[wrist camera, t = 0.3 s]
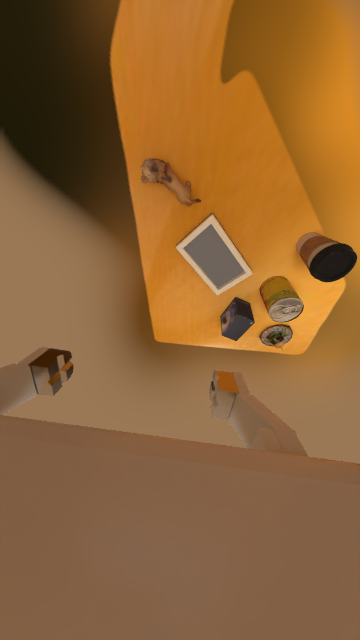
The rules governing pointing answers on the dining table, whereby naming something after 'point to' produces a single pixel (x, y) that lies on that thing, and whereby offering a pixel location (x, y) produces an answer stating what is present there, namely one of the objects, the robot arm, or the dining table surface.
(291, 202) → the dining table surface
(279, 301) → the yellow food can
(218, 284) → the picture frame
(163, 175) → the lion figurine
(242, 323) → the small box
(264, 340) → the plate of food
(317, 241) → the coffee cup
